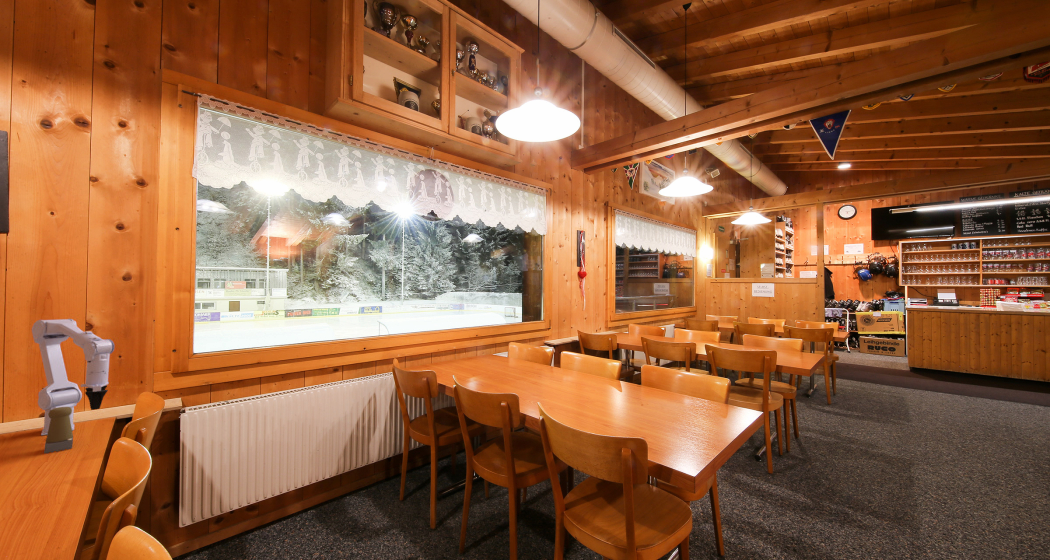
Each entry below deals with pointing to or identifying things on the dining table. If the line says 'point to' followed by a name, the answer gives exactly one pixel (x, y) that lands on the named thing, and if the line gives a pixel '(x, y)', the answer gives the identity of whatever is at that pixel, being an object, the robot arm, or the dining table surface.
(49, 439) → the cork
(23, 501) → the dining table surface
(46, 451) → the block
